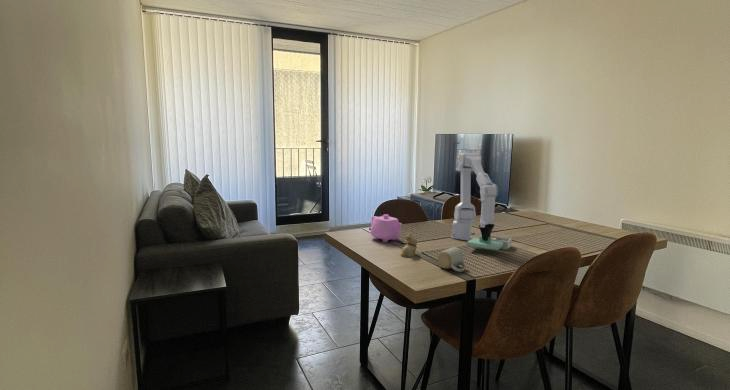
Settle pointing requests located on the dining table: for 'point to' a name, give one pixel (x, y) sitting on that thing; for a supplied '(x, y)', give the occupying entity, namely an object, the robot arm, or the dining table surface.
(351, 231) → the dining table surface
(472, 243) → the lid
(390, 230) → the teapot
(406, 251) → the chocolate bunny
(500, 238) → the box
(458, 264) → the ceramic mug
